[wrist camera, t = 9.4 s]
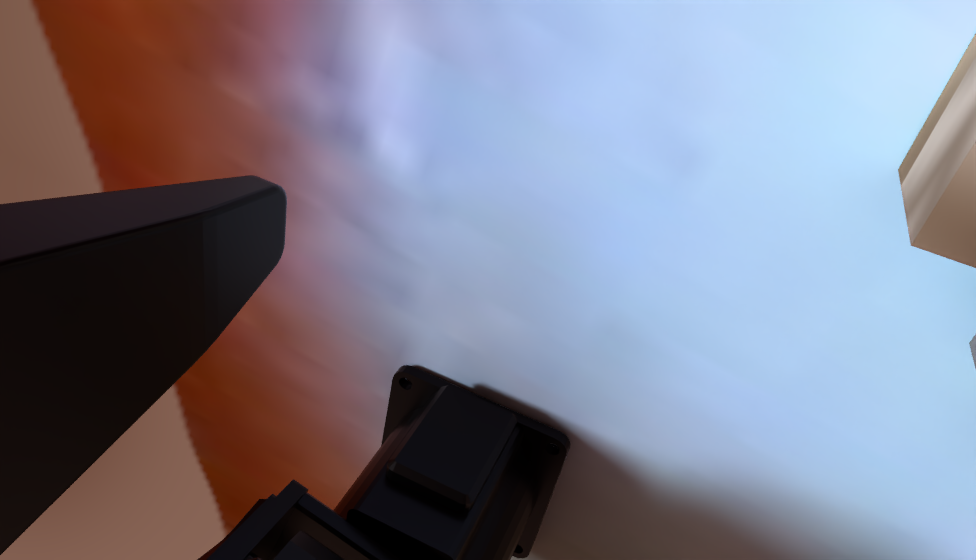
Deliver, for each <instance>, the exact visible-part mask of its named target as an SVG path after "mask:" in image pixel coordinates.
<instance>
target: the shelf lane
mask: <svg viewBox="0 0 976 560" xmlns="http://www.w3.org/2000/svg"><path fill="white" fill-rule="evenodd" d="M898 172H899V178H900V184H901V190H902V196H903V201H904V207H905V213H906V219H907V225H908V231H909V237H910V243H911V246H914V247H917V248H920V249H923V250H926V251H929V252H931V253H934V254H937V255H940V256H943V257H946V258H949V259H952V260H954V261H957V262H960V263H963V264H966V265H969V266H972V267H974V268H976V34H975V35H974V37H973V39H972V41H971V42H970V44H969V46H968V48H967V49H966V51H965V53H964V55H963V57H962V58H961V60H960V62H959V64H958V65H957V67H956V69H955V71H954V72H953V74H952V76H951V78H950V79H949V81H948V83H947V85H946V86H945V88H944V90H943V92H942V93H941V95H940V97H939V99H938V100H937V102H936V104H935V106H934V107H933V109H932V111H931V113H930V115H929V116H928V118H927V120H926V122H925V123H924V125H923V127H922V129H921V130H920V132H919V134H918V136H917V137H916V139H915V141H914V143H913V144H912V146H911V148H910V150H909V151H908V153H907V155H906V157H905V158H904V160H903V162H902V164H901V166H900V167H899V169H898Z"/></svg>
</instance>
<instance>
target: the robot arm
mask: <svg viewBox="0 0 976 560" xmlns="http://www.w3.org/2000/svg"><path fill="white" fill-rule="evenodd" d="M286 207H287V197H286V193H285V191H284V189H283V188H282V187H281V186H279V185H277V184H275V183H272V182H270V181H267V180H265V179H262V178H260V177H257V176H252V175H251V176H241V177H232V178H223V179H215V180H206V181H197V182H189V183H180V184H172V185H163V186H154V187H146V188H137V189H128V190H120V191H111V192H102V193H94V194H85V195H77V196H68V197H59V198H52V199H51V198H50V199H42V200H33V201H24V202H16V203H7V204H0V555H1V554H2V553H3V552H4V551H5V550H6V549H7V548H8V547H9V546H10V545H11V544H12V543H13V542H14V541H15V540H16V539H17V538H18V537H19V536H20V535H21V534H22V533H23V532H24V531H25V530H26V529H27V528H28V527H29V526H30V525H31V524H32V523H33V522H34V521H35V520H36V519H37V518H38V517H39V516H40V515H41V514H42V513H43V512H44V511H45V510H47V508H48V507H49V506H50V505H52V504H53V502H55V501H56V500H57V499H58V498H59V497H60V496H61V495H62V494H63V493H64V492H65V491H66V490H67V489H68V488H69V487H70V486H71V485H72V484H73V483H74V482H75V481H76V480H77V479H78V478H79V477H80V476H81V475H82V474H83V473H84V472H85V471H86V470H87V469H88V468H89V467H90V466H91V465H92V464H93V463H94V462H95V461H96V460H97V459H98V458H99V457H100V456H101V455H102V454H103V453H104V452H105V451H106V450H107V449H108V448H109V447H110V446H111V445H112V444H113V443H114V442H115V441H116V440H117V439H118V438H119V437H120V436H121V435H122V434H123V433H124V432H125V431H126V430H127V429H128V428H130V427H131V426H132V424H134V423H135V422H136V421H137V420H138V418H140V417H141V416H142V415H143V414H144V413H145V412H146V411H147V410H148V409H149V408H150V407H151V406H152V405H153V404H154V403H155V402H156V401H157V400H158V399H159V398H160V397H161V396H162V395H163V394H164V393H165V392H166V391H167V390H168V389H169V388H170V387H171V386H172V385H173V384H174V383H175V382H176V381H177V380H178V379H179V378H180V377H181V376H182V375H183V374H184V373H185V372H186V371H187V370H188V369H189V368H190V367H191V366H192V365H193V364H194V363H195V362H196V361H197V360H198V359H199V358H200V357H201V356H202V355H203V354H204V353H205V352H206V351H207V349H208V348H209V347H210V346H211V345H212V344H213V343H214V341H215V340H216V339H217V338H218V337H219V336H220V334H221V333H222V332H223V331H224V329H225V328H226V327H227V326H228V324H229V323H230V322H231V321H232V319H233V318H234V317H235V316H236V315H237V313H238V312H239V311H240V310H241V308H242V307H243V306H244V305H245V303H246V302H247V301H248V300H249V298H250V297H251V296H252V295H253V293H254V292H255V291H256V290H257V289H258V287H259V286H260V285H261V284H262V282H263V281H264V280H265V279H266V277H267V276H268V275H269V274H270V272H271V271H272V270H273V269H274V268H275V266H276V265H277V263H278V262H279V260H280V258H281V256H282V253H283V250H284V245H285V227H286ZM405 378H407V379H408V380H410V382H411V383H410V382H408V381H407V380H406V379H405ZM550 443H553V444H555V445H557V446H558V447H554V446H552V445H551V444H550ZM569 448H570V441H569V439H568V438H567V436H566V435H565V434H563V433H562V432H560V431H558V430H556V429H553V428H551V427H549V426H547V425H544V424H542V423H540V422H538V421H535V420H533V419H531V418H528V417H526V416H524V415H522V414H519V413H517V412H515V411H513V410H510V409H508V408H506V407H503V406H501V405H499V404H497V403H494V402H492V401H490V400H488V399H485V398H483V397H481V396H478V395H476V394H474V393H472V392H469V391H467V390H465V389H463V388H460V387H458V386H456V385H453V384H451V383H449V382H447V381H444V380H442V379H440V378H438V377H435V376H433V375H431V374H428V373H426V372H424V371H422V370H419V369H417V368H415V367H412V366H409V365H406V366H402V367H401V368H399V370H398V371H397V372H396V373H395V374H394V377H393V380H392V386H391V392H390V398H389V404H388V410H387V416H386V422H385V427H384V433H383V439H382V445H381V447H380V449H379V450H378V451H377V453H376V454H375V455H374V457H373V458H372V459H371V461H370V462H369V463H368V465H367V466H366V467H365V469H364V470H363V471H362V473H361V474H360V475H359V477H358V478H357V480H356V481H355V482H354V484H353V485H352V486H351V488H350V489H349V490H348V492H347V493H346V494H345V496H344V497H343V498H342V500H341V501H340V502H339V504H338V505H337V506H336V508H335V509H334V510H332V509H330V508H329V507H327V506H326V505H324V504H323V503H322V502H320V501H319V500H317V499H316V498H314V497H313V496H311V495H310V494H309V493H307V491H308V489H307V488H305V487H304V486H303V485H301V484H300V483H298V482H297V481H295V480H294V479H293V480H292V481H291V482H290V483H289V484H288V485H287V486H286V487H285V488H284V489H283V490H282V491H281V492H280V493H279V494H278V495H277V496H275V495H274V494H272V495H271V496H270V497H269V498H268V499H259V500H258V501H257V503H256V504H255V505H254V506H253V507H252V508H251V509H250V511H249V512H248V513H247V514H246V515H245V516H244V517H243V519H242V520H241V521H240V522H239V523H238V524H237V525H236V527H235V528H234V529H233V530H232V531H231V532H230V533H229V534H228V535H227V536H226V537H225V538H224V539H223V540H222V541H221V542H220V543H218V544H217V545H216V546H214V547H213V548H212V549H211V550H209V551H208V552H207V553H205V554H204V555H203V556H201V557H200V558H199V559H198V560H510V559H511V557H512V556H514V557H517V558H525V557H527V556H528V555H529V553H530V551H531V548H532V546H533V543H534V541H535V538H536V535H537V533H538V530H539V527H540V525H541V522H542V519H543V517H544V514H545V512H546V509H547V506H548V504H549V501H550V498H551V496H552V493H553V490H554V488H555V485H556V483H557V480H558V477H559V475H560V472H561V469H562V467H563V464H564V461H565V459H566V456H567V453H568V451H569Z"/></svg>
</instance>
